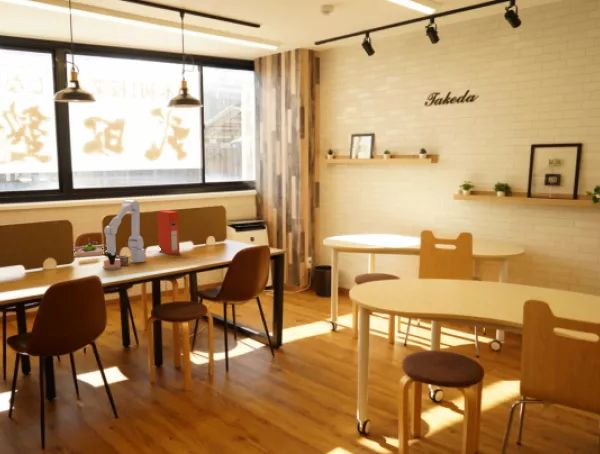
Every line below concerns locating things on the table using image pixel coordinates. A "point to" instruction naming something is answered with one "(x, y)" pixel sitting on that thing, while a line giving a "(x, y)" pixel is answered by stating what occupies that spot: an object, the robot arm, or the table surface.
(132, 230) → the robot arm
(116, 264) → the pink eraser brick
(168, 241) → the file binder
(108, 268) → the pad
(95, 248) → the plant
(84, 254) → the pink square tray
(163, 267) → the table surface
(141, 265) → the table surface
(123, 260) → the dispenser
